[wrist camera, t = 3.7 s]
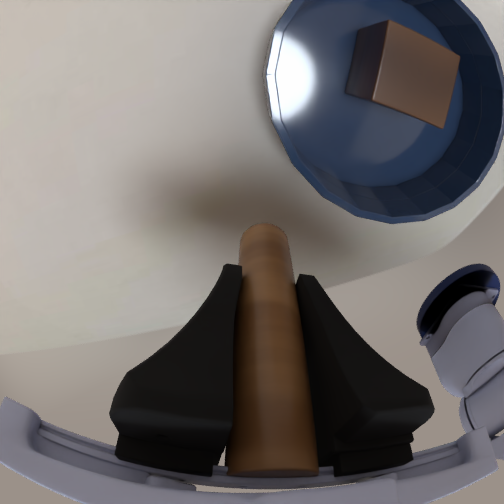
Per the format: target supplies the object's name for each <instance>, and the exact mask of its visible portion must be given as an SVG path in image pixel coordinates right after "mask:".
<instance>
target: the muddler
mask: <svg viewBox="0 0 504 504" xmlns="http://www.w3.org/2000/svg"><path fill="white" fill-rule="evenodd" d="M238 265H240V266H242V280H241V286H240V291H239V296H238V301H237V306H236V311H235V317H234V336H233V404H234V407H233V424H232V428H231V431H230V434H229V437H228V440H227V443H226V450H225V466H228V471H227V473H226V474H227V475H228V476H239V477H263V478H286V477H311V476H318V475H319V464H318V454H317V444H316V434H315V425H314V416H313V407H312V399H311V391H310V382H309V375H308V367H307V359H306V352H305V345H304V338H303V331H302V324H301V317H300V310H299V304H298V297H297V291H296V285H295V279H294V272H293V266H292V260H291V254H290V248H289V243H288V238H287V236H286V234H285V232H284V231H283V230H282V229H281V228H279V227H277V226H275V225H273V224H269V223H261V224H256V225H253V226H251V227H250V228H248V229H247V230H246V231H245V232H244V233H243V235H242V237H241V240H240V250H239V263H238Z"/></svg>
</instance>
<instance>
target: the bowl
mask: <svg viewBox="0 0 504 504" xmlns="http://www.w3.org/2000/svg"><path fill="white" fill-rule="evenodd" d="M385 20H392V21H394V22H397V23H399V24H401V25H403V26H405V27H408V28H410V29H412V30H414V31H416V32H418V33H420V34H422V35H424V36H426V37H428V38H430V39H431V40H433V41H435V42H437V43H439V44H440V45H442V46H444V47H446V48H447V49H449V50H451V51H452V52H454V53H456V54H457V55H459V56H460V62H459V67H458V72H457V77H456V81H455V86H454V90H453V94H452V98H451V102H450V106H449V110H448V114H447V118H446V121H445V125H444V128H443V129H440V128H437V127H435V126H433V125H430V124H428V123H426V122H423V121H421V120H418V119H415V118H413V117H410V116H408V115H405V114H402V113H400V112H397V111H395V110H392V109H389V108H387V107H384V106H381V105H378V104H375V103H372V102H369V101H366V100H363V99H360V98H357V97H354V96H351V95H347V94H345V90H346V85H347V81H348V77H349V72H350V68H351V63H352V59H353V54H354V49H355V45H356V40H357V35H358V30H359V29H361V28H364V27H367V26H370V25H373V24H376V23H379V22H382V21H385ZM263 82H264V89H265V95H266V102H267V109H268V113H269V115H270V118H271V121H272V123H273V125H274V127H275V129H276V131H277V133H278V135H279V137H280V139H281V141H282V144H283V146H284V148H285V150H286V152H287V154H288V156H289V158H290V160H291V163H292V164H293V166H294V167H295V168H296V169H297V170H298V171H299V172H300V173H301V174H302V175H303V176H304V177H305V179H306V180H307V181H308V182H309V183H310V184H311V185H312V186H313V187H314V188H315V189H316V191H317V192H318V193H319V194H320V195H321V196H322V197H323V198H325V199H327V200H329V201H331V202H332V203H334V204H336V205H337V206H339V207H341V208H343V209H344V210H346V211H348V212H349V213H351V214H353V215H354V216H357V217H361V218H366V219H371V220H375V221H380V222H384V223H389V224H397V223H407V222H416V221H425V220H427V219H430V218H432V217H434V216H437V215H439V214H441V213H443V212H446V211H448V210H450V209H452V208H454V207H456V206H457V205H458V204H459V203H460V202H462V201H463V200H464V199H465V198H466V197H467V196H468V195H470V194H471V193H472V192H473V191H474V190H475V189H476V188H477V187H478V186H479V185H480V184H481V182H482V181H483V179H484V178H485V176H486V175H487V173H488V171H489V170H490V168H491V167H492V165H493V163H494V162H495V160H496V158H497V155H498V152H499V149H500V146H501V142H502V139H503V136H504V75H503V71H502V67H501V63H500V59H499V56H498V53H497V51H496V49H495V47H494V45H493V43H492V42H491V40H490V38H489V36H488V34H487V32H486V31H485V29H484V27H483V25H482V24H481V22H480V21H479V19H478V18H477V17H476V16H475V15H474V14H473V13H472V12H471V11H470V9H469V8H468V7H467V6H466V5H465V4H464V3H463V2H462V1H461V0H293V1H292V2H291V4H290V5H289V7H288V8H287V10H286V11H285V13H284V14H283V16H282V17H281V19H280V20H279V22H278V23H277V25H276V26H275V28H274V31H273V33H272V35H271V37H270V40H269V44H268V49H267V54H266V58H265V64H264V69H263Z"/></svg>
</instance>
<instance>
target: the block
mask: <svg viewBox="0 0 504 504" xmlns="http://www.w3.org/2000/svg"><path fill="white" fill-rule="evenodd" d="M459 62H460V56H459V55H457V54H456V53H454V52H452V51H451V50H449V49H447V48H446V47H444V46H442V45H440V44H439V43H437V42H435V41H433V40H431V39H430V38H428V37H426V36H424V35H422V34H420V33H418V32H416V31H414V30H412V29H410V28H408V27H405V26H403V25H401V24H399V23H397V22H394V21H392V20H385V21H382V22H379V23H376V24H373V25H370V26H367V27H364V28H361V29H359V30H358V35H357V40H356V45H355V49H354V54H353V59H352V63H351V68H350V72H349V77H348V81H347V85H346V90H345V94H347V95H351V96H354V97H357V98H360V99H363V100H366V101H369V102H372V103H375V104H378V105H381V106H384V107H387V108H389V109H392V110H395V111H397V112H400V113H402V114H405V115H408V116H410V117H413V118H415V119H418V120H421V121H423V122H426V123H428V124H430V125H433V126H435V127H437V128H440V129H443V128H444V125H445V121H446V118H447V114H448V110H449V106H450V102H451V98H452V94H453V90H454V86H455V81H456V77H457V72H458V67H459Z"/></svg>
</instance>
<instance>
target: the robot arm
mask: <svg viewBox="0 0 504 504" xmlns="http://www.w3.org/2000/svg"><path fill="white" fill-rule="evenodd" d="M241 280H242V266H240V265H233V264H225V265H224V266H223V270H222V272H221V275H220V277H219V279H218V281H217V283H216V284H215V286H214V288H213V289H212V291H211V293H210V294H209V296H208V297H207V299H206V300H205V302H204V303H203V304H202V306H201V307H200V308H199V310H198V311H197V312H196V313H195V315H194V316H193V317H192V318H191V319H190V321H189V322H188V323H187V324H186V325H185V326H184V327H183V328H182V329H181V330H180V331H179V332H178V333H177V334H176V335H175V336H174V337H173V338H172V339H171V340H170V341H169V342H168V343H167V344H165V345H164V346H163V347H162V348H160V349H159V350H158V351H157V352H156V353H154V354H153V355H152V356H150V357H149V358H148V359H146V360H145V361H143V362H142V363H140V364H139V365H137V366H136V367H135V368H133V369H132V370H130V371H128V372H127V373H126V375H125V377H124V378H123V380H122V381H121V383H120V385H119V387H118V389H117V391H116V394H115V396H114V398H113V402H112V405H111V409H110V412H109V414H110V418H111V420H112V422H113V423H114V425H115V427H116V428H117V430H118V432H119V436H118V441H117V445H116V446H112V445H109V444H106V443H102V442H99V441H96V440H93V439H90V438H87V437H84V436H81V435H78V434H75V433H73V432H70V431H67V430H65V429H62V428H60V427H57V426H55V425H52V424H50V423H48V422H45V421H43V420H41V419H40V417H39V416H38V414H37V413H35V412H34V411H33V410H31V409H30V408H28V407H26V406H24V405H22V404H20V403H18V402H16V401H14V400H12V399H10V398H8V397H4V399H3V402H2V404H1V406H0V463H1V464H3V465H5V466H6V467H8V468H10V469H11V470H13V471H15V472H16V473H18V474H20V475H22V476H24V477H25V478H28V479H29V480H31V481H33V482H35V483H37V484H39V485H41V486H43V487H45V488H47V489H49V490H52V491H54V492H56V493H58V494H60V495H63V496H65V497H68V498H70V499H72V500H75V501H77V502H80V503H83V504H428V503H430V502H433V501H436V500H438V499H440V498H443V497H445V496H447V495H449V494H452V493H454V492H456V491H459V490H461V489H463V488H465V487H467V486H469V485H471V484H473V483H475V482H477V481H479V480H481V479H483V478H485V477H486V476H488V475H490V474H492V473H493V472H495V471H497V470H498V465H497V461H496V459H502V460H504V434H502V435H501V436H494V435H495V434H497V433H499V432H500V431H502V430H503V429H504V320H503V318H502V317H501V315H500V314H499V312H498V311H497V309H496V308H495V306H494V305H493V303H492V301H493V300H494V298H495V297H496V295H497V294H498V289H496V288H490V287H482V286H475V285H468V284H459V285H458V286H457V288H456V290H455V291H454V293H453V294H452V296H451V297H450V299H449V301H448V302H447V304H446V305H445V307H444V308H443V310H442V311H441V313H440V314H439V316H438V317H437V318H436V320H435V321H434V323H433V324H432V326H431V327H430V328H429V330H428V331H427V332H426V334H425V335H424V337H423V338H422V339H421V341H420V342H419V343H420V345H421V346H426V348H427V350H428V353H429V355H430V358H431V360H432V362H433V365H434V367H435V369H436V372H437V374H438V376H439V379H440V382H441V384H442V385H443V387H444V388H445V389H446V390H447V391H448V392H449V393H450V394H451V395H453V396H456V397H463V398H462V399H461V402H460V407H459V416H460V420H461V423H462V426H463V428H464V430H465V432H466V434H464V435H463V436H461V437H460V438H459V439H458V440H457V441H454V442H451V443H448V444H444V445H441V446H438V447H434V448H431V449H427V450H423V451H419V452H415V453H412V450H411V446H410V443H411V442H413V440H414V438H413V434H412V432H414V431H415V430H416V429H417V428H419V427H420V426H421V425H423V424H424V423H425V422H426V421H427V420H428V419H429V418H431V416H432V415H433V413H434V409H435V408H434V405H433V403H432V399H431V397H430V394H429V391H428V389H427V388H425V387H424V386H422V385H420V384H419V383H417V382H416V381H414V380H412V379H410V378H409V377H407V376H406V375H405V374H403V373H402V372H400V371H399V370H398V369H396V368H395V367H394V366H392V365H391V364H390V363H389V362H387V361H386V360H385V359H384V358H383V357H381V356H380V355H379V354H378V353H377V352H376V351H375V350H374V349H372V348H371V347H370V346H369V345H368V344H367V343H366V342H365V341H364V340H363V338H361V336H360V335H359V334H358V333H357V332H356V331H355V330H354V329H353V328H352V326H351V325H350V324H349V323H348V322H347V321H346V319H345V318H344V317H343V315H342V314H341V313H340V312H339V310H338V309H337V308H336V306H335V305H334V304H333V302H332V301H331V300H330V298H329V297H328V295H327V294H326V292H325V291H324V289H323V288H322V287H321V285H320V284H319V282H318V281H317V279H316V278H315V277H314V276H312V275H305V274H299V277H298V280H297V283H296V291H297V297H298V304H299V310H300V317H301V324H302V331H303V338H304V345H305V352H306V359H307V367H308V375H309V382H310V391H311V399H312V407H313V416H314V425H315V434H316V444H317V454H318V464H319V475H318V476H311V477H286V478H263V477H239V476H228V475H227V474H226V473H227V471H228V466H218V463H219V461H220V458H221V454H222V453H223V452H224V449H225V446H226V443H227V440H228V437H229V434H230V431H231V428H232V424H233V407H234V404H233V336H234V317H235V311H236V306H237V301H238V296H239V291H240V286H241ZM355 482H357V483H356V484H350V485H343V486H335V487H326V488H315V489H301V490H289V491H280V492H271V493H218V492H202V491H196V487H195V486H194V485H192V484H197V485H205V486H214V487H225V488H241V489H298V488H314V487H325V486H334V485H342V484H349V483H355ZM188 483H189V484H188Z"/></svg>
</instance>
